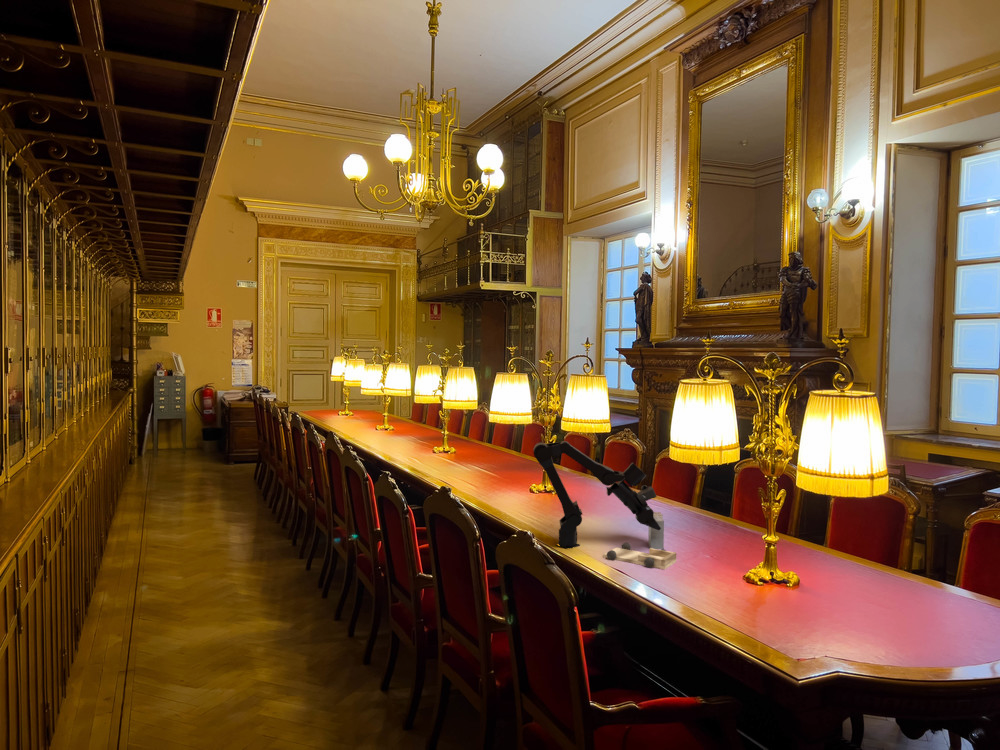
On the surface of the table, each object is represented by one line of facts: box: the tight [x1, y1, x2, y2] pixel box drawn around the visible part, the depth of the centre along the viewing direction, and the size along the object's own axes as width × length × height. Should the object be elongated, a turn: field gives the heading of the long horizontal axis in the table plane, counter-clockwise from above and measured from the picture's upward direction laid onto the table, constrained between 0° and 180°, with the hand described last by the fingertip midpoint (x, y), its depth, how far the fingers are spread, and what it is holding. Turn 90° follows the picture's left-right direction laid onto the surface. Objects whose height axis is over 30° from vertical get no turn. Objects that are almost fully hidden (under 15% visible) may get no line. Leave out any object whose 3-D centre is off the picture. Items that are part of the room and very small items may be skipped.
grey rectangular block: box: [647, 511, 665, 550], centre depth 243 cm, size 4×5×12 cm
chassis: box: [602, 542, 677, 570], centre depth 229 cm, size 22×13×3 cm, turn 54°
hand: (657, 526), depth 243 cm, fingers open, 9 cm apart
